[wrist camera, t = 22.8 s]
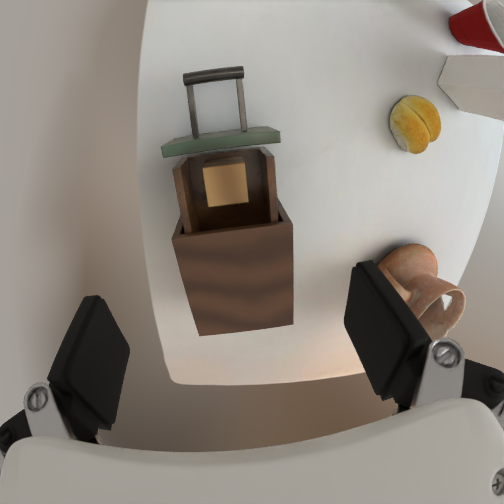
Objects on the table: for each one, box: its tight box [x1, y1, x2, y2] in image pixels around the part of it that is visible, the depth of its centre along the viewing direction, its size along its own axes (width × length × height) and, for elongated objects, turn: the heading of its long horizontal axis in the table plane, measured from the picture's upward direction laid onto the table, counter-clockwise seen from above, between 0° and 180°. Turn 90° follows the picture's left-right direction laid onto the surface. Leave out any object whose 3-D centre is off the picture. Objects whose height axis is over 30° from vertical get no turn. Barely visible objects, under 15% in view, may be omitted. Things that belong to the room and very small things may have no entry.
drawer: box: [161, 66, 281, 234], centre depth 28 cm, size 21×11×7 cm, turn 5°
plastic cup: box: [449, 0, 504, 53], centre depth 17 cm, size 11×11×12 cm
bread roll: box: [390, 96, 441, 154], centre depth 30 cm, size 8×9×4 cm
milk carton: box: [437, 55, 504, 121], centre depth 19 cm, size 7×7×19 cm
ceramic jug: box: [378, 244, 466, 341], centre depth 38 cm, size 18×14×14 cm
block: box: [203, 156, 249, 207], centre depth 30 cm, size 4×4×4 cm
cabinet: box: [172, 197, 293, 336], centre depth 35 cm, size 15×13×9 cm
